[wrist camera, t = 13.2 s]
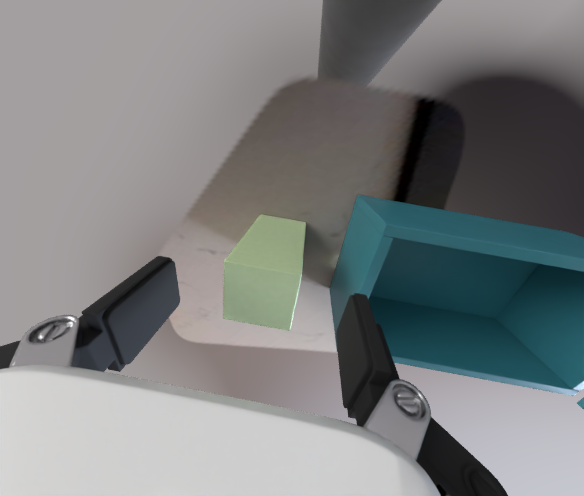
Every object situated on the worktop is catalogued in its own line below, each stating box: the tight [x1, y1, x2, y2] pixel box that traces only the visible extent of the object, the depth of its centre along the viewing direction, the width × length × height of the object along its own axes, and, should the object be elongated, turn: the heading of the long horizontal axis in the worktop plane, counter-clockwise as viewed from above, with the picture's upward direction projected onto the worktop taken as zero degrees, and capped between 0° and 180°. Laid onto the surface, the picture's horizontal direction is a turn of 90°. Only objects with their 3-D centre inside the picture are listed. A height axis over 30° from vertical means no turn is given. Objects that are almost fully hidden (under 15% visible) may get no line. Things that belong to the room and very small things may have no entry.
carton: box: [223, 214, 306, 331], centre depth 16 cm, size 4×4×9 cm
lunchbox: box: [330, 195, 584, 396], centre depth 17 cm, size 18×10×8 cm, turn 81°
